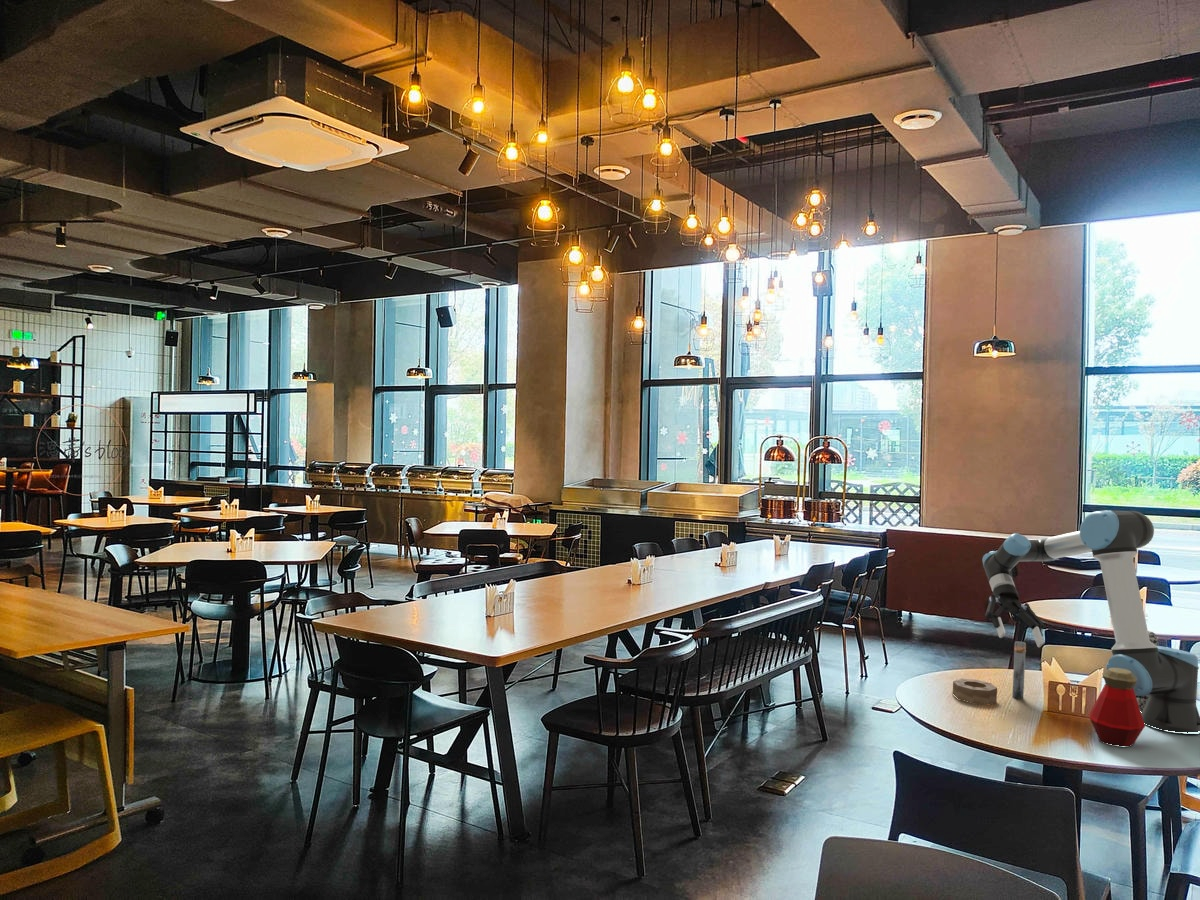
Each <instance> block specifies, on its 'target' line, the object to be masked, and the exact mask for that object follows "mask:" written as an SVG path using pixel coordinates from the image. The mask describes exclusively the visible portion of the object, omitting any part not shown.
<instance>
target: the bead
mask: <svg viewBox="0 0 1200 900" xmlns="http://www.w3.org/2000/svg"><path fill="white" fill-rule="evenodd" d="M953 694H954V695H955V696H956V697H957V698H958V699H961V700H965V701H968V702H971V703H970V704H972V703H976V704H975V705H985V704H990V705H992V703H993V704H995V703H997V701H998V698H997V697H998V687H997V686H995V685H994V684H993V683H991V682H987V681H983V680H980V679H972V678H970V679H969V678H958V679H956V680H953V681H952V695H953ZM957 698H956V699H957ZM958 699H957V700H958ZM961 700H960V701H961ZM965 701H964V702H965ZM968 702H967V703H968ZM994 702H995V703H994Z"/></svg>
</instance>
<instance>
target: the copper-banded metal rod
mask: <svg viewBox="0 0 1200 900" xmlns="http://www.w3.org/2000/svg"><path fill="white" fill-rule="evenodd" d="M1026 649H1027V643H1026V642H1024V641H1018V640H1017V641H1014V651H1013V653H1014V655H1013V673H1012V674H1013V675H1012V694H1011V695H1012V698H1013V699H1016V700H1023V699H1024V696H1025V695H1024V691H1025V690H1024V689H1025V671H1026V653H1027V650H1026Z"/></svg>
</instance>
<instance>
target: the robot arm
mask: <svg viewBox="0 0 1200 900" xmlns="http://www.w3.org/2000/svg"><path fill="white" fill-rule="evenodd" d="M1154 534H1155V528H1154V524H1153V523H1152V521H1151V519H1150V518H1149V517H1148V516H1147V515H1145V514H1144V513H1141V512H1139V511H1137V510H1136V511H1134V510H1110V509H1109V510H1108V509H1107V510H1098V511H1092V512H1091V513H1089V514H1087V515H1086V516H1085V517H1084V519H1083V521H1082V522H1081V524H1080V527H1079V530H1078V531H1076V530H1075V531H1072V532H1067V533H1063V534H1059V535H1055V536H1051V537H1050V536H1049V537H1045V538H1041V539H1029V538H1028V537H1026V536H1025V535H1023V534H1020V533H1018V532H1017V533H1012V534H1010V535H1009V537H1008V538H1006V539H1005V540H1004V541H1003V542H1002V544H1001V546H1000V547H999V548H998V549H997V550H992V551H989V552H988V553H985V554H984V555H982V565H983V569H984V571H985V574H986V577H987V581H988V583H989V586H990V588H991V591H992V594H991V595H990V596H989V598H988V599H987V601H988V605H987V608H986V612H985V615H984V617H985V618H986V619H989V620H988V621H989V622H990V623H992V625H993V627H994V628H995V629H996V632H997V635H998V638H1000V639H1002V638H1003V637H1005V635H1006V634H1007V632H1006V629H1005V627H1004V624H1003V621H1002V618H1001V616H1000V614H1001V613H1002V612H1003V611H1004V612H1005V613H1008V614H1013V615H1014V616H1016V617H1017V618H1019V619H1021V620H1022V621H1023V622H1024V623H1025V624H1026V625H1027V626H1028V627H1030V628H1031V633H1032V636H1033V638H1034V641H1035V644H1036V647H1038V648H1041V647H1042V646H1043V645H1044V644H1045V641H1044V638H1043V636H1044V634H1043V633H1042V630H1044V628H1046V625H1045V624H1044V623H1043V622H1042V620H1041V619H1040V618H1039V617H1038V615H1037V614H1036V613H1035V612H1034V610H1032V608H1031V606H1030V604H1029V603H1028V602H1025V603H1024V604H1023V603H1021V602H1020V601H1019V598H1020V597H1019V596H1020V595H1019V592H1018V591H1017V588H1016V585H1015V582H1014V580H1013V577H1012V574H1011V571H1012V570H1013V568H1014V567H1016V566H1017V565H1018V564H1019V562H1022V563H1024V562H1044V563H1045V562H1052V561H1054V562H1055V561H1056V560H1058V559H1060V558H1067V557H1071V556H1076V555H1081V554H1082V555H1083V554H1089V553H1092V558H1094V559H1095V560H1097V561H1098V562H1099V564H1100V565H1099V566H1100V569H1101V574H1102V579H1103V583H1104V589H1105V593H1106V598H1107V604H1108V610H1109V614H1110V619H1111V623H1112V629H1113V634H1114V641H1115V643H1114V645H1113V646H1112V647H1111V652H1112V653H1111V655H1112V656H1111V657H1110V658H1109V659H1108V662H1107V663H1106V665H1105V666H1106V667H1105V669H1106V670H1108V669H1109V668H1122V669H1126V670H1129V671H1131V672H1132V673H1133V675H1134V676H1135V677H1136V678H1137V682H1136V684H1135V686H1134V688H1133V690H1134V693H1135V695H1137V696H1145V695H1149V697H1148V700H1147V702H1146V704H1145V706H1144V708H1143V711H1142V713H1141V715H1142V718H1143V722H1144V723H1145V724H1147V725H1150V726H1153V727H1156V728H1159V729H1162V730H1168V731H1175V732H1187V733H1188V732H1198V731H1200V714H1199V712H1200V711H1199V710H1198V707H1197V697H1198V696H1197V695H1198V694H1197V693H1198V678H1199V677H1198V673H1199V669H1200V667H1199V658H1198V656H1197V655H1196V654H1194V653H1192V652H1189V651H1186V650H1181V649H1177V648H1174V647H1173V648H1172V647H1168V646H1161V645H1157V646H1156V645H1155V644H1153V643H1152V642H1151V641H1150V639H1149V634H1148V631H1149V630H1148V626H1147V622H1146V616H1145V610H1144V605H1143V602H1142V597H1141V592H1140V589H1139V588H1140V587H1139V583H1138V577H1137V573H1136V568H1135V563H1134V558H1135V557H1136V555H1137V554H1138V550H1137V549H1140V548H1143V547H1145V546H1147V545H1149V543H1150V542H1151V541H1152V540H1153V538H1154ZM996 604H997V605H998V606H999V608H998V609H997V610H996V611H995V613H994V609H995V606H996ZM1106 670H1105V671H1106ZM1145 724H1144V725H1145ZM1147 725H1146V726H1147Z"/></svg>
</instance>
